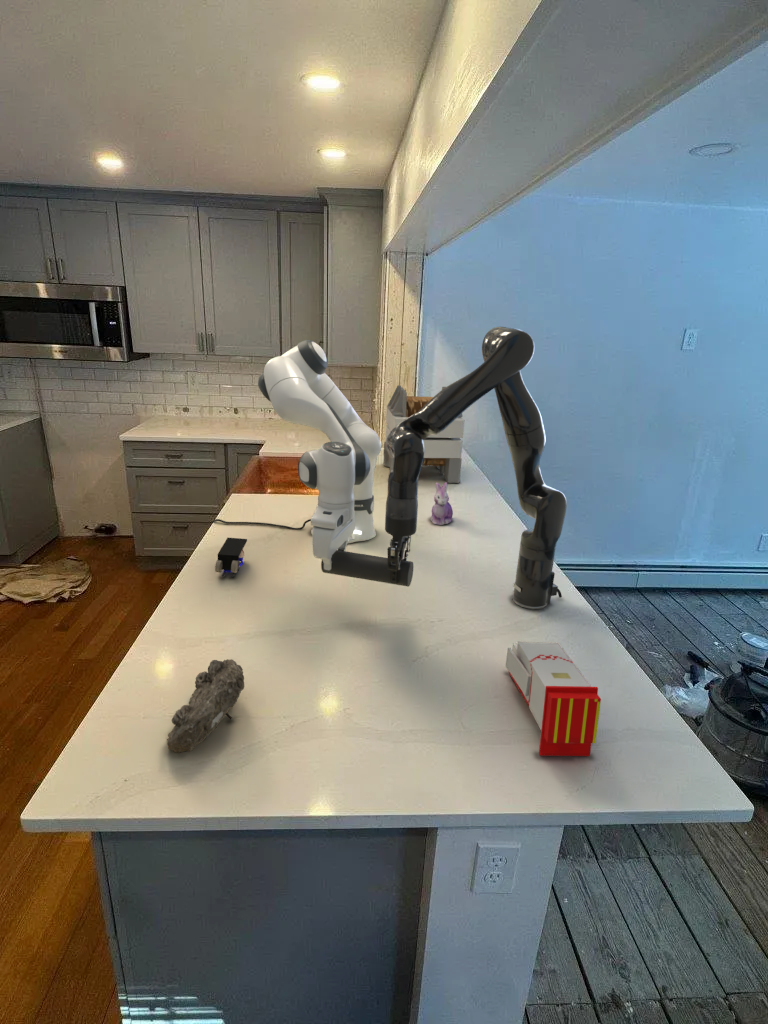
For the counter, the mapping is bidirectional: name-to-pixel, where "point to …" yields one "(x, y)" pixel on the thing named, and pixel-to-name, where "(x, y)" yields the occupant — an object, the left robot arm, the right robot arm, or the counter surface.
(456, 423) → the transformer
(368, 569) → the rod
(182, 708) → the fossil
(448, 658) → the counter surface
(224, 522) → the left robot arm
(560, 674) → the toy
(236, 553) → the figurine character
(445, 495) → the figurine
